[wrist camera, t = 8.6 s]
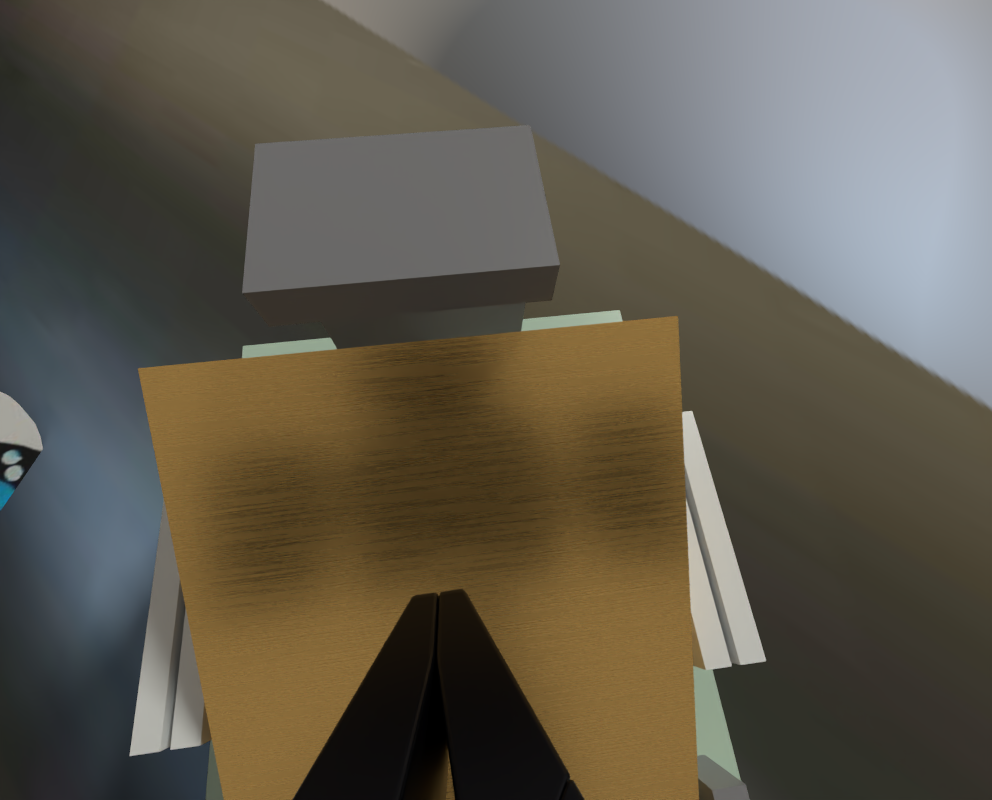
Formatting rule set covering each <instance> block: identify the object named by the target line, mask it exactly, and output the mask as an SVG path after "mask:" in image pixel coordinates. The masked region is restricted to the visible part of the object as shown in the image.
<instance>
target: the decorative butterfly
mask: <svg viewBox="0 0 992 800" xmlns="http://www.w3.org/2000/svg"><path fill="white" fill-rule="evenodd" d="M42 449H43V447H42V442H41V437H40V434H39V432H38V429H37V427H36V425H35V423H34V422H33V420H32V419H31V418H30V417H29V416H28V415H27V413H26V412H25V411H24V410H23V409H22V407H21V406H20V405H19V404H18V403H17V402H16V401H14V400H13V399H12V398H11V397H10V396H8V395H6V394H4V393H2V392H0V511H1V509H2V508H3V506H4V505H5V503H6V502H7V501H8V499H9V498H10V496H11V495H12V493H13V492H14V490H15V489H16V488H17V486H18V485H19V483H20V482H21V480H22V479H23V477H24V476H25V475H26V473H27V472H28V470H29V469H30V467H31V466H32V464H33V463H34V461H35V460H36V458H37V457H38V456H39V454H40V452H41V451H42Z"/></svg>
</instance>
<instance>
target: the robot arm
mask: <svg viewBox="0 0 992 800" xmlns="http://www.w3.org/2000/svg"><path fill="white" fill-rule="evenodd" d="M449 760H450V768H451V775H452V782H453V789H454V797H455V800H585V799H584V797H583V796H582V794H581V792H580V790H579V789H578V787H577V785H576V783H575V782H574V781H573V780H570V774H569V772H568V770H567V768H566V766H565V765H564V763H563V761H562V759H561V758H560V756H559V754H558V752H557V751H556V749H555V747H554V745H553V744H552V742H551V740H550V738H549V737H548V735H547V733H546V731H545V730H544V728H543V726H542V724H541V723H540V721H539V719H538V717H537V716H536V714H535V712H534V710H533V709H532V707H531V705H530V703H529V702H528V700H527V698H526V696H525V695H524V693H523V691H522V689H521V688H520V686H519V684H518V682H517V680H516V679H515V677H514V675H513V673H512V672H511V670H510V668H509V666H508V665H507V663H506V661H505V659H504V658H503V656H502V654H501V652H500V651H499V649H498V647H497V645H496V644H495V642H494V640H493V638H492V637H491V635H490V633H489V631H488V630H487V628H486V626H485V624H484V623H483V621H482V619H481V617H480V616H479V614H478V612H477V610H476V609H475V607H474V605H473V603H472V602H471V600H470V598H469V596H468V595H467V593H466V592H465V591H464V590H463V589H457V590H450V591H443V592H441V593H440V595H438V594H437V593H427V594H419V595H415V596H413V597H412V598H411V599H410V601H409V603H408V604H407V606H406V608H405V609H404V611H403V613H402V615H401V616H400V618H399V620H398V621H397V623H396V625H395V626H394V628H393V630H392V632H391V633H390V635H389V637H388V638H387V640H386V642H385V643H384V645H383V647H382V648H381V650H380V652H379V654H378V655H377V657H376V659H375V660H374V662H373V664H372V665H371V667H370V669H369V670H368V672H367V674H366V676H365V677H364V679H363V681H362V682H361V684H360V686H359V687H358V689H357V691H356V693H355V694H354V696H353V698H352V699H351V701H350V703H349V704H348V706H347V708H346V709H345V711H344V713H343V715H342V716H341V718H340V720H339V721H338V723H337V725H336V726H335V728H334V730H333V731H332V733H331V735H330V737H329V738H328V740H327V742H326V743H325V745H324V747H323V748H322V750H321V752H320V754H319V755H318V757H317V759H316V760H315V762H314V764H313V765H312V767H311V769H310V770H309V772H308V774H307V776H306V777H305V779H304V781H303V782H302V784H301V786H300V787H299V789H298V791H297V792H296V794H295V796H294V798H293V799H292V800H446V795H447V780H448V765H449Z"/></svg>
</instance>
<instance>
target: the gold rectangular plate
mask: <svg viewBox="0 0 992 800" xmlns="http://www.w3.org/2000/svg"><path fill="white" fill-rule="evenodd" d="M138 371H139V376H140V381H141V386H142V391H143V396H144V401H145V406H146V411H147V416H148V421H149V426H150V431H151V436H152V441H153V446H154V451H155V456H156V461H157V466H158V471H159V476H160V481H161V486H162V492H163V497H164V502H165V507H166V512H167V517H168V522H169V527H170V532H171V537H172V542H173V547H174V552H175V557H176V562H177V567H178V572H179V577H180V582H181V587H182V592H183V597H184V602H185V607H186V612H187V617H188V622H189V627H190V632H191V637H192V642H193V647H194V652H195V657H196V662H197V667H198V673H199V678H200V683H201V688H202V693H203V698H204V703H205V708H206V713H207V718H208V723H209V728H210V733H211V738H212V743H213V748H214V753H215V758H216V763H217V768H218V773H219V778H220V783H221V788H222V793H223V798H224V800H292V799H293V798H294V796H295V794H296V792H297V791H298V789H299V787H300V786H301V784H302V782H303V781H304V779H305V777H306V776H307V774H308V772H309V770H310V769H311V767H312V765H313V764H314V762H315V760H316V759H317V757H318V755H319V754H320V752H321V750H322V748H323V747H324V745H325V743H326V742H327V740H328V738H329V737H330V735H331V733H332V731H333V730H334V728H335V726H336V725H337V723H338V721H339V720H340V718H341V716H342V715H343V713H344V711H345V709H346V708H347V706H348V704H349V703H350V701H351V699H352V698H353V696H354V694H355V693H356V691H357V689H358V687H359V686H360V684H361V682H362V681H363V679H364V677H365V676H366V674H367V672H368V670H369V669H370V667H371V665H372V664H373V662H374V660H375V659H376V657H377V655H378V654H379V652H380V650H381V648H382V647H383V645H384V643H385V642H386V640H387V638H388V637H389V635H390V633H391V632H392V630H393V628H394V626H395V625H396V623H397V621H398V620H399V618H400V616H401V615H402V613H403V611H404V609H405V608H406V606H407V604H408V603H409V601H410V599H411V598H412V597H413V596H415V595H419V594H427V593H437V594H438V595H440V593H441V592H443V591H450V590H457V589H463V590H464V591H465V592H466V593H467V595H468V596H469V598H470V600H471V602H472V603H473V605H474V607H475V609H476V610H477V612H478V614H479V616H480V617H481V619H482V621H483V623H484V624H485V626H486V628H487V630H488V631H489V633H490V635H491V637H492V638H493V640H494V642H495V644H496V645H497V647H498V649H499V651H500V652H501V654H502V656H503V658H504V659H505V661H506V663H507V665H508V666H509V668H510V670H511V672H512V673H513V675H514V677H515V679H516V680H517V682H518V684H519V686H520V688H521V689H522V691H523V693H524V695H525V696H526V698H527V700H528V702H529V703H530V705H531V707H532V709H533V710H534V712H535V714H536V716H537V717H538V719H539V721H540V723H541V724H542V726H543V728H544V730H545V731H546V733H547V735H548V737H549V738H550V740H551V742H552V744H553V745H554V747H555V749H556V751H557V752H558V754H559V756H560V758H561V759H562V761H563V763H564V765H565V766H566V768H567V770H568V772H569V774H570V780H573V781H574V782H575V783H576V785H577V787H578V789H579V790H580V792H581V794H582V796H583V797H584V799H585V800H699V787H698V764H697V741H696V718H695V696H694V673H693V650H692V627H691V604H690V581H689V558H688V535H687V513H686V490H685V467H684V444H683V421H682V398H681V375H680V352H679V330H678V316H673V317H663V318H652V319H642V320H632V321H622V322H611V323H601V324H591V325H580V326H570V327H560V328H550V329H539V330H529V331H519V332H508V333H498V334H488V335H478V336H467V337H457V338H447V339H436V340H426V341H416V342H406V343H395V344H385V345H375V346H365V347H354V348H344V349H334V350H323V351H313V352H303V353H293V354H282V355H272V356H262V357H251V358H241V359H231V360H221V361H210V362H200V363H190V364H179V365H169V366H159V367H149V368H138ZM446 800H455V797H454V789H453V782H452V775H451V768H450V760H449V765H448V780H447V795H446Z"/></svg>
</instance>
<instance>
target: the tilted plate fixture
mask: <svg viewBox="0 0 992 800" xmlns="http://www.w3.org/2000/svg"><path fill="white" fill-rule="evenodd" d="M559 266H560V263H559V259H558V254H557V249H556V245H555V240H554V235H553V230H552V226H551V221H550V216H549V211H548V207H547V202H546V197H545V193H544V188H543V183H542V178H541V174H540V169H539V164H538V160H537V155H536V150H535V145H534V141H533V136H532V131H531V126H530V125H525V126H510V127H496V128H481V129H466V130H452V131H437V132H422V133H408V134H393V135H378V136H364V137H349V138H334V139H320V140H305V141H290V142H276V143H261V144H255V154H254V166H253V177H252V188H251V200H250V211H249V223H248V234H247V245H246V257H245V268H244V279H243V291H242V293H243V295H244V296H245V297H246V298H247V300H248V301H249V302H250V303H251V305H252V306H253V307H254V308H255V309H256V311H257V312H258V313H259V314H260V316H261V317H262V318H263V319H264V321H265V322H266V323H267V324H268V326H269V327H270V326H281V325H291V324H302V323H313V322H321V323H322V324H323V326H324V328H325V329H326V331H327V333H328V334H329V336H330V338H323V339H312V340H302V341H292V342H281V343H271V344H260V345H250V346H243V354H242V358H251V357H262V356H272V355H282V354H293V353H303V352H313V351H323V350H334V349H344V348H354V347H365V346H375V345H385V344H395V343H406V342H416V341H426V340H436V339H447V338H457V337H467V336H478V335H488V334H498V333H508V332H519V331H529V330H539V329H550V328H560V327H570V326H580V325H591V324H601V323H611V322H622V317H621V313H620V310H616V311H605V312H595V313H584V314H574V315H563V316H553V317H543V318H532V319H523V315H524V308H525V303H527V302H538V301H549V300H552V297H553V293H554V288H555V284H556V280H557V275H558V271H559ZM682 421H683V444H684V467H685V490H686V513H687V535H688V558H689V581H690V604H691V627H692V650H693V673H694V696H695V718H696V741H697V764H698V787H699V800H750V799H749V795H748V791H747V787H746V784H744V783H743V782H742V781H741V779H740V775H739V772H738V768H737V764H736V760H735V756H734V752H733V748H732V744H731V740H730V737H729V733H728V729H727V725H726V721H725V717H724V713H723V709H722V706H721V702H720V698H719V694H718V690H717V686H716V682H715V678H714V674H713V671H712V669H717V668H724V667H730V666H732V665H731V662H732V663H735V664H739V665H744V664H750V663H757V662H764V661H766V658H765V655H764V652H763V648H762V645H761V641H760V638H759V635H758V631H757V628H756V625H755V621H754V618H753V614H752V611H751V608H750V604H749V601H748V598H747V594H746V591H745V587H744V584H743V581H742V577H741V574H740V571H739V567H738V564H737V560H736V557H735V554H734V550H733V547H732V544H731V540H730V537H729V534H728V530H727V527H726V523H725V520H724V517H723V513H722V510H721V507H720V503H719V500H718V496H717V493H716V490H715V486H714V483H713V480H712V476H711V473H710V469H709V466H708V463H707V459H706V456H705V453H704V449H703V446H702V442H701V439H700V436H699V432H698V429H697V426H696V422H695V419H694V415H693V412H692V411H688V412H682ZM208 741H210V751H209V763H208V775H207V787H206V799H205V800H224V798H223V793H222V788H221V783H220V778H219V773H218V768H217V763H216V758H215V753H214V748H213V743H212V738H211V733H210V728H209V723H208V718H207V713H206V708H205V703H204V698H203V693H202V688H201V683H200V678H199V673H198V667H197V662H196V657H195V652H194V647H193V642H192V637H191V632H190V627H189V622H188V617H187V612H186V607H185V602H184V597H183V592H182V587H181V582H180V577H179V572H178V567H177V562H176V557H175V552H174V547H173V542H172V537H171V532H170V527H169V522H168V517H167V512H166V507H165V502H164V503H163V511H162V518H161V525H160V533H159V540H158V548H157V555H156V563H155V570H154V577H153V585H152V592H151V600H150V607H149V615H148V622H147V629H146V637H145V644H144V652H143V659H142V667H141V674H140V681H139V689H138V696H137V704H136V711H135V718H134V726H133V733H132V741H131V748H130V756H134V755H141V754H147V753H154V752H160V751H162V750H164V749H166V748H169V747H170V750H174V749H181V748H188V747H194V746H201V745H202V744H204V743H206V742H208Z"/></svg>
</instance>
